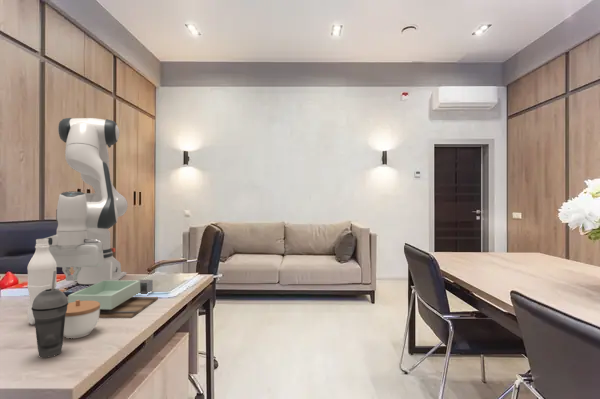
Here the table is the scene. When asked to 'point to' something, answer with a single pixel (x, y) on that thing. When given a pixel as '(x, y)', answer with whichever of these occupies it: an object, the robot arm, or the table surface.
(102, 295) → the mint green tray
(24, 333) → the table surface
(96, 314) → the lidded jar
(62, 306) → the beverage cup
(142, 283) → the metal block
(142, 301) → the track
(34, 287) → the water bottle
